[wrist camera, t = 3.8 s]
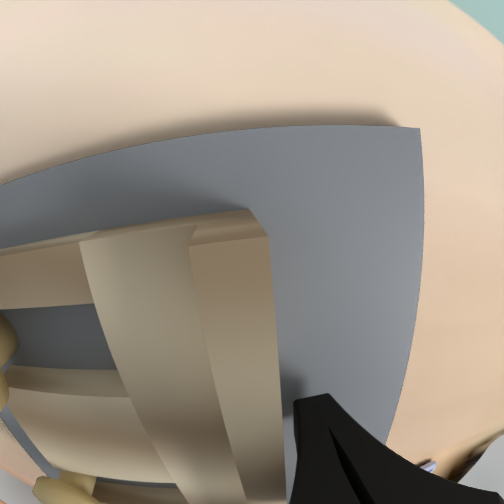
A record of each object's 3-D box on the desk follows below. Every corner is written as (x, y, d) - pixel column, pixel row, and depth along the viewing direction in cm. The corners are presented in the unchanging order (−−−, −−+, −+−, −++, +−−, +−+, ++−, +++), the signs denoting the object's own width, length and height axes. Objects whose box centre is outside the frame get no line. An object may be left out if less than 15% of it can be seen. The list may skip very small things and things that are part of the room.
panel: (278, 493, 11) (288, 541, 8) (99, 492, 11) (90, 534, 8) (249, 208, 8) (268, 235, 4) (-30, 256, 7) (-87, 287, 4)
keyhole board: (365, 474, 13) (386, 519, 9) (71, 488, 12) (59, 529, 8) (405, 130, 8) (491, 121, 4) (-66, 217, 7) (-122, 238, 3)
